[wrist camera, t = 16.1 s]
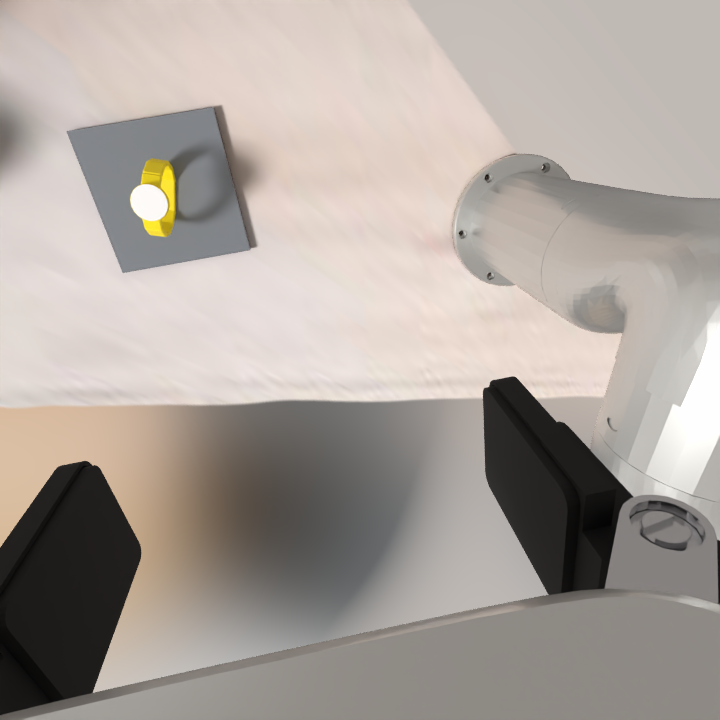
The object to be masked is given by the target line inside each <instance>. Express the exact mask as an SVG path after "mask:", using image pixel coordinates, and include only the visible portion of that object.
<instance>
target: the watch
mask: <svg viewBox="0 0 720 720" xmlns="http://www.w3.org/2000/svg"><path fill="white" fill-rule="evenodd" d="M175 182H176V180H175V175H174V170H173V167H172V165H171V164H170V162H169V161H166V160H160V159H153V158H152V159H150V160H148V161H147V162H146V164H145V167H144V170H143V174H142V179H141V185H139V186H137V187H136V188H134V189H133V191H132V193H131V196H130V203H131V207H132V209H133V211H134V212H135V213H136V214H137V215H138V216H139V217H140V218H142V220H143V224H144V227H145V229H146V231H147V232H148V233H149V235H154V236H161V237H167V236H169V235H170V234H171V231H172V229H173V226H174V221H175V214H176V201H175Z"/></svg>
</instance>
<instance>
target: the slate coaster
mask: <svg viewBox="0 0 720 720" xmlns="http://www.w3.org/2000/svg"><path fill="white" fill-rule="evenodd" d="M67 134H68V136H69V139H70V141H71V144H72V146H73V149H74V151H75V154H76V156H77V159H78V161H79V164H80V166H81V169H82V171H83V174H84V176H85V179H86V181H87V184H88V186H89V189H90V192H91V194H92V197H93V199H94V202H95V204H96V207H97V209H98V212H99V214H100V217H101V219H102V222H103V224H104V227H105V229H106V232H107V234H108V237H109V239H110V242H111V244H112V247H113V249H114V252H115V254H116V257H117V259H118V262H119V264H120V267H121V269H122V272H123V273H125V272H131V271H136V270H142V269H147V268H153V267H159V266H164V265H170V264H175V263H181V262H186V261H192V260H198V259H203V258H209V257H214V256H220V255H225V254H231V253H237V252H242V251H248V250H250V245H249V241H248V237H247V233H246V229H245V226H244V222H243V218H242V214H241V210H240V206H239V202H238V199H237V195H236V191H235V187H234V183H233V179H232V175H231V172H230V168H229V164H228V160H227V156H226V152H225V149H224V145H223V141H222V137H221V133H220V129H219V125H218V122H217V118H216V114H215V110H214V108H213V107H212V108H206V109H200V110H193V111H187V112H181V113H175V114H169V115H163V116H157V117H151V118H145V119H139V120H133V121H127V122H121V123H115V124H109V125H102V126H96V127H90V128H84V129H78V130H72V131H67ZM152 158H153V159H160V160H166V161H169V162H170V164H171V165H172V167H173V170H174V175H175V180H176V182H175V201H176V214H175V221H174V226H173V229H172V231H171V234H170V235H169V236H167V237H161V236H154V235H149V233H148V232H147V231H146V229H145V227H144V224H143V220H142V218H140V217H139V216H138V215H137V214H136V213H135V212H134V211H133V209H132V207H131V203H130V196H131V193H132V191H133V189H134V188H136V187H137V186H139V185H141V179H142V174H143V170H144V167H145V164H146V162H147V161H148V160H150V159H152Z"/></svg>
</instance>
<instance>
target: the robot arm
mask: <svg viewBox="0 0 720 720" xmlns="http://www.w3.org/2000/svg"><path fill="white" fill-rule="evenodd" d="M542 165H543V166H544V167H543V169H542V170H541V168H542ZM486 174H487V175H488V178H487V179H486V180H485V179H484V178H485V175H486ZM461 230H462V234H461V235H459V232H460V231H461ZM452 238H453V243H454V248H455V250H456V253H457V255H458V258H459V259H460V261H461V262H462V264H463V265H464V267H465V268H466V269H467V270H468V271H469V272H470V273H472V274H473V275H474V276H476V277H477V278H478V279H480V280H482V281H484V282H486V283H489V284H493V285H498V286H513V285H516V286H518V287H519V288H520V289H522V290H523V291H525V292H526V293H528V294H529V295H531V296H532V297H533V298H535V299H536V300H538V301H539V302H541V303H542V304H543V305H545V306H546V307H548V308H549V309H551V310H552V311H554V312H555V313H556V314H558V315H559V316H561V317H562V318H564V319H565V320H567V321H568V322H570V323H572V324H573V325H575V326H577V327H579V328H582V329H584V330H588V331H591V332H596V333H605V334H618V333H622V337H621V341H620V344H619V348H618V351H617V354H616V361H615V365H614V368H613V371H612V374H611V377H610V380H609V384H608V387H607V390H606V393H605V396H604V399H603V403H602V406H601V409H600V412H599V415H598V419H597V422H596V426H595V429H594V433H593V437H592V442H591V447H590V449H589V448H588V447H587V446H586V445H585V444H584V443H583V442H582V441H581V440H580V439H579V438H578V437H577V435H576V434H575V433H574V432H573V431H572V430H571V429H570V428H569V427H568V426H567V425H566V424H565V423H562V422H556V421H555V420H554V419H553V418H552V417H551V416H550V415H549V413H548V412H547V411H546V410H545V409H544V408H543V407H542V406H541V404H540V403H539V402H538V401H537V400H536V399H535V398H534V397H533V396H532V394H531V393H530V392H529V391H528V390H527V389H526V388H525V387H524V386H523V384H522V383H521V382H520V381H519V380H518V379H517V378H516V377H508V378H503V379H498V380H492V381H491V382H490V386H489V387H487V388H484V390H483V406H484V407H483V408H484V439H485V472H486V478H487V481H488V484H489V487H490V489H491V491H492V492H493V494H494V496H495V498H496V500H497V501H498V503H499V505H500V507H501V509H502V511H503V512H504V514H505V516H506V518H507V520H508V522H509V523H510V525H511V527H512V529H513V530H514V532H515V534H516V536H517V538H518V540H519V542H520V543H521V545H522V547H523V549H524V551H525V553H526V554H527V556H528V558H529V560H530V562H531V563H532V565H533V567H534V569H535V571H536V573H537V574H538V576H539V578H540V580H541V582H542V584H543V585H544V587H545V589H546V591H547V593H548V594H549V595H546V596H540V597H534V598H529V599H524V600H520V601H514V602H509V603H504V604H499V605H494V606H488V607H483V608H478V609H473V610H468V611H463V612H458V613H454V614H449V615H445V616H440V617H435V618H430V619H426V620H422V621H416V622H412V623H408V624H402V625H398V626H393V627H388V628H384V629H379V630H375V631H370V632H365V633H360V634H356V635H351V636H347V637H342V638H338V639H333V640H329V641H324V642H319V643H315V644H310V645H306V646H301V647H296V648H292V649H287V650H283V651H278V652H274V653H269V654H264V655H260V656H256V657H251V658H246V659H242V660H238V661H233V662H229V663H224V664H219V665H215V666H211V667H206V668H201V669H197V670H192V671H188V672H184V673H179V674H175V675H170V676H166V677H161V678H157V679H153V680H148V681H144V682H139V683H135V684H130V685H126V686H122V687H117V688H113V689H108V690H105V691H100V692H95V693H93V690H94V687H95V684H96V681H97V679H98V676H99V673H100V670H101V667H102V665H103V662H104V659H105V656H106V654H107V651H108V648H109V645H110V643H111V640H112V637H113V634H114V632H115V629H116V626H117V623H118V620H119V618H120V615H121V612H122V609H123V606H124V603H125V600H126V598H127V595H128V593H129V590H130V587H131V584H132V581H133V579H134V575H135V573H136V570H137V568H138V565H139V562H140V559H141V547H140V544H139V541H138V540H137V538H136V536H135V534H134V532H133V530H132V528H131V526H130V524H129V523H128V521H127V519H126V517H125V515H124V513H123V511H122V509H121V508H120V506H119V504H118V502H117V500H116V498H115V496H114V494H113V492H112V491H111V488H110V487H109V485H108V483H107V481H106V479H105V477H104V475H103V474H102V471H101V470H100V468H99V467H98V466H95V465H94V466H92V465H91V464H90V463H89V462H87V461H82V462H78V463H72V464H68V465H62V466H59V467H58V468H57V469H56V470H55V471H54V472H53V474H52V475H51V477H50V478H49V480H48V481H47V482H46V484H45V485H44V487H43V488H42V489H41V491H40V492H39V494H38V495H37V497H36V498H35V499H34V501H33V502H32V504H31V505H30V507H29V508H28V509H27V511H26V512H25V513H24V515H23V516H22V518H21V519H20V520H19V522H18V523H17V525H16V526H15V527H14V529H13V530H12V532H11V533H10V535H9V536H8V537H7V539H6V540H5V542H4V543H3V545H2V546H1V547H0V720H720V199H710V198H684V197H674V196H666V195H658V194H652V193H646V192H640V191H634V190H626V189H621V188H615V187H609V186H603V185H598V184H592V183H586V182H580V181H575V180H571V179H570V177H569V175H568V174H567V173H566V172H565V171H564V170H563V168H562V167H561V166H559V165H558V164H556V163H555V162H554V161H552V160H550V159H547V158H545V157H543V156H538V155H532V154H516V155H511V156H506V157H504V158H501V159H499V160H496V161H494V162H493V163H491V164H489V165H488V166H486V167H485V168H483V169H482V170H481V171H480V172H479V173H478V174H477V175H475V176H474V177H473V179H472V180H471V181H470V182H469V184H468V185H467V186H466V187H465V189H464V191H463V193H462V195H461V196H460V198H459V200H458V203H457V206H456V209H455V212H454V217H453V223H452ZM489 272H490V274H489V275H488V276H487V274H488V273H489Z"/></svg>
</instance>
